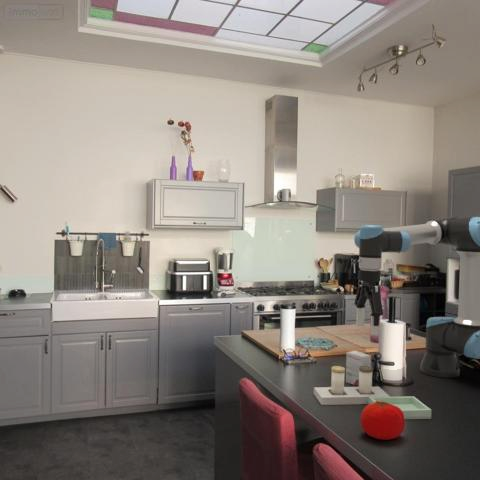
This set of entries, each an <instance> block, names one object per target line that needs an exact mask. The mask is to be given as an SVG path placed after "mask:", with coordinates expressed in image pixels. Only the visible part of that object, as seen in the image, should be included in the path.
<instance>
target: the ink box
mask: <svg viewBox="0 0 480 480" xmlns="http://www.w3.org/2000/svg"><path fill="white" fill-rule="evenodd" d="M345 355H346V357H345V358H346V359H345V361H346V364H345V365H346V367H345V374H346V375H345V382H346V383H347V384H351V385H354V386H355V387H359V367H360V366H370V367H372V355H370V354H368V353H367V354H366V353H364V352H361V351H358V350H351V351H346V354H345Z"/></svg>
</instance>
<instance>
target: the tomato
mask: <svg viewBox="0 0 480 480" xmlns="http://www.w3.org/2000/svg"><path fill="white" fill-rule="evenodd" d="M405 420H406V419H404V414H403V412H402V411H401V409H400V408H398V407H397V406H394V405H391V404H389V403H387V402H383V401H379V402H378V401H376V402H375V403H373V404H366V405H365V406H364V408H363V409H362V410H361V415H360V422H361V427H362V429H363V430H364V433H365V434H367V435H368V436H369V437H371V438H373V439H377V440H385V441H386V440H392V439H393V440H394V439H397V438H398V437H400V436H401V434H403V431H404V430H405V425H406V421H405Z"/></svg>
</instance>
